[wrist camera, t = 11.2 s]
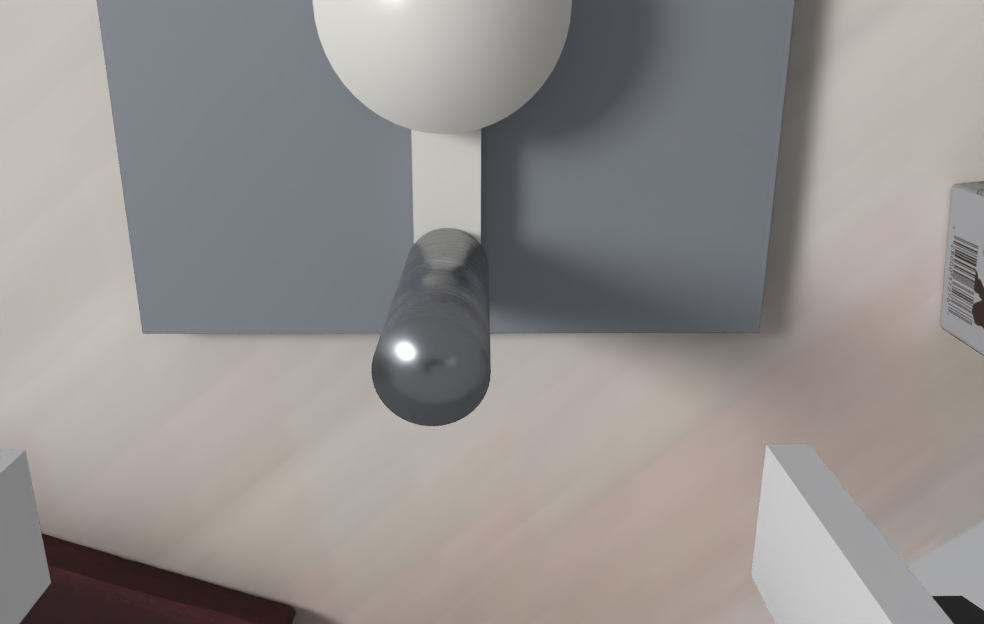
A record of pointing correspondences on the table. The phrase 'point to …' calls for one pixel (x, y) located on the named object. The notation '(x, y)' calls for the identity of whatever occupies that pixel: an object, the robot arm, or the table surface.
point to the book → (137, 594)
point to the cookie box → (965, 266)
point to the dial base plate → (504, 172)
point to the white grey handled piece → (441, 170)
